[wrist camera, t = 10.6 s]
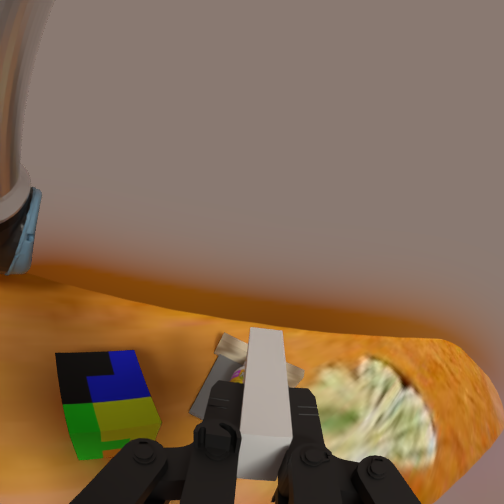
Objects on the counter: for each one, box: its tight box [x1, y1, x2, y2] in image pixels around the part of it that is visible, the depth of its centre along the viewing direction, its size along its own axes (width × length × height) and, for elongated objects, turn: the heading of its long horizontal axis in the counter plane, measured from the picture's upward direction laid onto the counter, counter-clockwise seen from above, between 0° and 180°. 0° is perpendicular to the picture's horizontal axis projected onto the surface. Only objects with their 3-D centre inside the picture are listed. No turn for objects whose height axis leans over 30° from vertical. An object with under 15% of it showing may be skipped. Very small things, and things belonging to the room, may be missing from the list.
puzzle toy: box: [55, 350, 162, 460], centre depth 27 cm, size 10×10×10 cm
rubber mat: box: [189, 354, 289, 420], centre depth 42 cm, size 14×14×1 cm
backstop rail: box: [214, 333, 304, 388], centre depth 49 cm, size 16×2×4 cm, turn 76°
